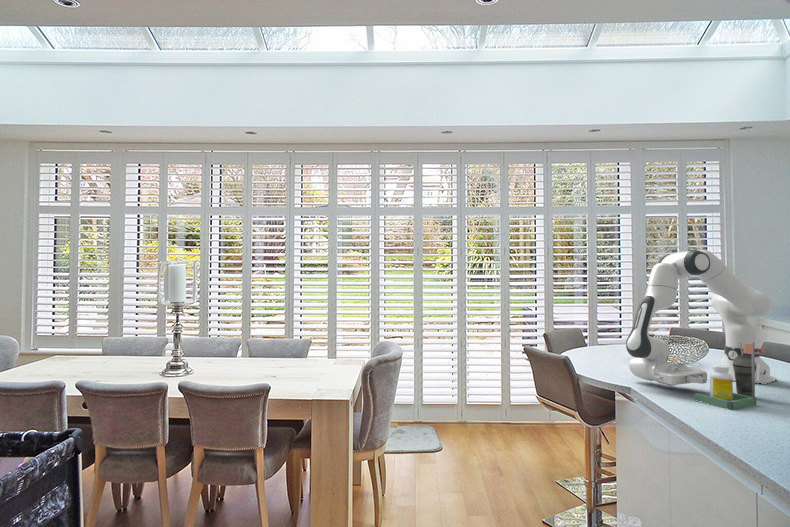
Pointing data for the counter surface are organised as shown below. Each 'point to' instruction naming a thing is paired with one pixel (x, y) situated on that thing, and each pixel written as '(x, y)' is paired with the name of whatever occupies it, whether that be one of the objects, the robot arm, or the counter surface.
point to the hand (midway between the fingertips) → (704, 381)
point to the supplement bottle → (721, 383)
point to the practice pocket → (738, 399)
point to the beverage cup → (743, 374)
